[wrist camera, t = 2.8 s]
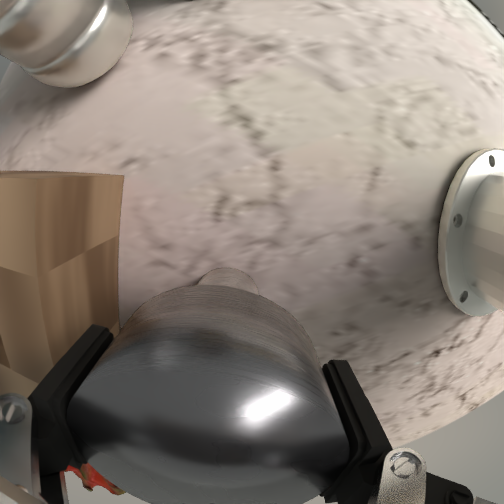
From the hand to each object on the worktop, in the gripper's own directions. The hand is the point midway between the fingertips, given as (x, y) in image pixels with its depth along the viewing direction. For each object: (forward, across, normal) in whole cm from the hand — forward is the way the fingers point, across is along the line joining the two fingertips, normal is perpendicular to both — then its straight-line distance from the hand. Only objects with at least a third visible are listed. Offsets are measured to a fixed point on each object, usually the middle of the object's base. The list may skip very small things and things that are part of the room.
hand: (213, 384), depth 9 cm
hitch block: (+7, +12, 0) cm, 14 cm away
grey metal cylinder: (+7, 0, 0) cm, 7 cm away
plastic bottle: (+8, +10, -14) cm, 19 cm away
